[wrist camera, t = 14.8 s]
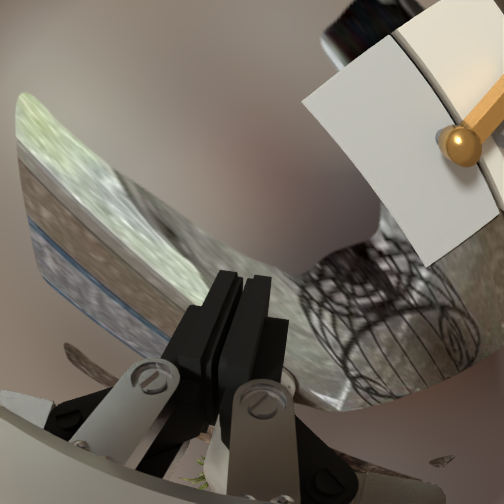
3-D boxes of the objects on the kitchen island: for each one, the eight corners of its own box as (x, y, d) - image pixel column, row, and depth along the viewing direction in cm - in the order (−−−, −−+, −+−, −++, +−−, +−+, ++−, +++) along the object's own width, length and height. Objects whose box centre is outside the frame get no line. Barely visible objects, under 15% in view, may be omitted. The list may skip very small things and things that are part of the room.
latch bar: (453, 167, 27) (465, 175, 24) (431, 141, 26) (442, 146, 24) (520, 90, 21) (536, 92, 18) (501, 63, 20) (516, 63, 18)
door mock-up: (560, 153, 25) (590, 167, 19) (423, 263, 36) (439, 293, 30) (467, -16, 19) (493, -30, 13) (301, 101, 30) (299, 103, 25)
